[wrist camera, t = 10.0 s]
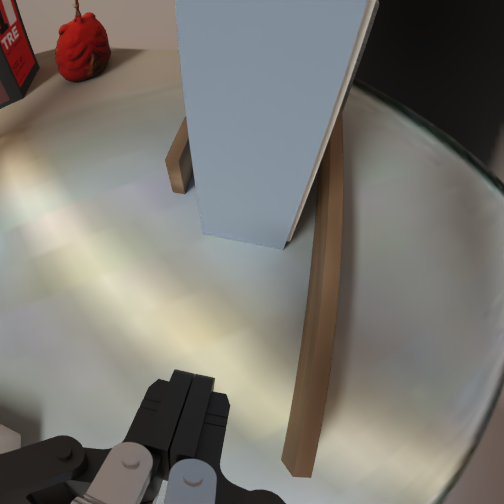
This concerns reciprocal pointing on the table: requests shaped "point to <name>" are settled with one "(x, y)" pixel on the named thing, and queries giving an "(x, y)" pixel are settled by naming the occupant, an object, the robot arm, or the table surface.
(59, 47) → the red clay folk toy
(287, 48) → the book
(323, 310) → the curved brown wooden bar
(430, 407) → the table surface
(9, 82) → the cleaning product box
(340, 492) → the table surface
